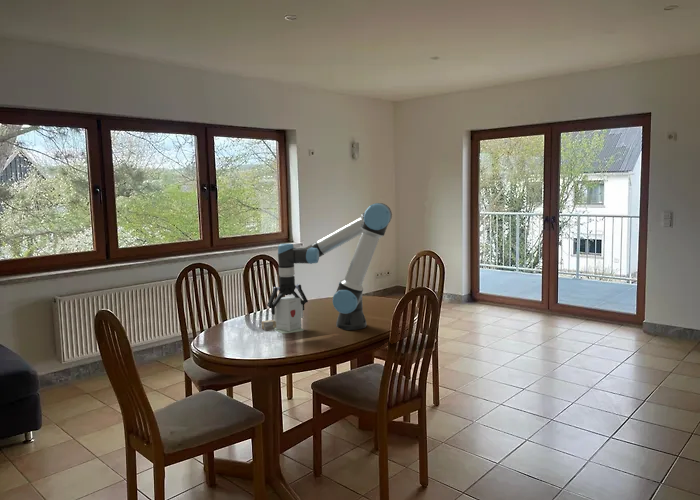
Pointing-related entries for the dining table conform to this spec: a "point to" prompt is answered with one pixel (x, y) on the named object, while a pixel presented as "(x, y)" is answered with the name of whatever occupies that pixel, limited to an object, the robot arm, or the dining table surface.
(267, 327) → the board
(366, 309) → the dining table surface
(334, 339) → the dining table surface
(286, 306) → the supplement box
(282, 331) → the seat pad
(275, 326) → the leg bar
